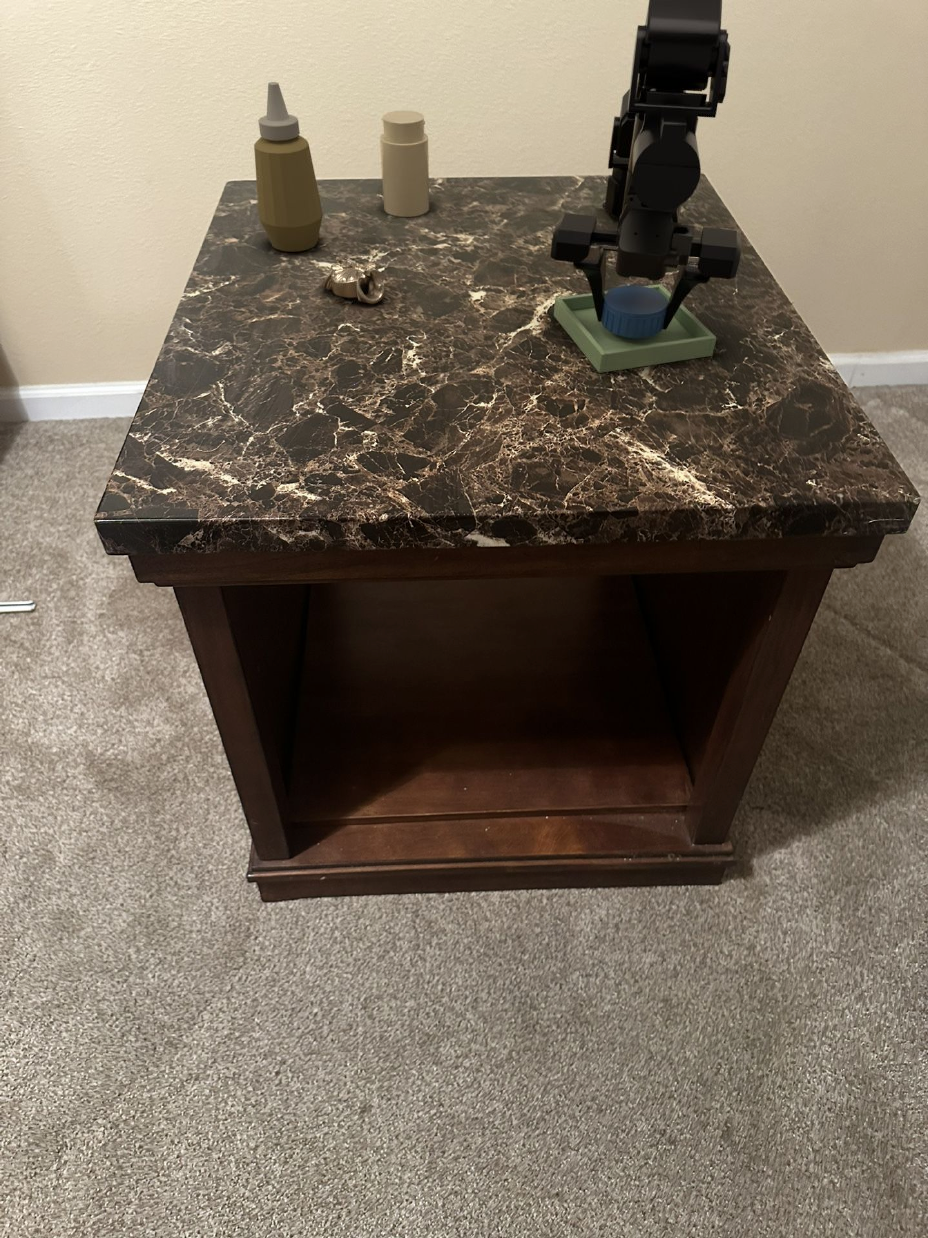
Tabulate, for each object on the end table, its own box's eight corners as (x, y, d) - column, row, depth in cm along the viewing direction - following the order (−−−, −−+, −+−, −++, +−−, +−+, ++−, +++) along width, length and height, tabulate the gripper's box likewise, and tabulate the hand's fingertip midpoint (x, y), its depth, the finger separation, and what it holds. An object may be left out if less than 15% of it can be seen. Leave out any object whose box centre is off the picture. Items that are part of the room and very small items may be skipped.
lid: (597, 334, 89) (600, 310, 87) (604, 305, 93) (607, 281, 91) (661, 341, 88) (666, 317, 86) (665, 312, 92) (670, 288, 90)
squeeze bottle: (336, 236, 109) (321, 77, 96) (308, 260, 104) (288, 96, 91) (281, 227, 111) (259, 70, 98) (251, 251, 105) (223, 88, 92)
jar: (422, 197, 119) (420, 107, 110) (434, 214, 115) (433, 121, 106) (379, 201, 117) (373, 110, 109) (389, 218, 113) (384, 125, 105)
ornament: (402, 291, 98) (400, 260, 96) (364, 313, 94) (361, 282, 92) (351, 273, 101) (348, 243, 99) (312, 294, 97) (308, 263, 95)
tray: (657, 301, 97) (661, 283, 96) (712, 355, 89) (717, 337, 87) (553, 315, 95) (555, 297, 93) (599, 373, 86) (601, 354, 84)
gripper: (548, 191, 75) (536, 349, 87) (758, 211, 73) (716, 372, 84) (566, 151, 83) (552, 301, 94) (757, 168, 80) (719, 321, 91)
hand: (632, 324), depth 91 cm, fingers closed on lid, 7 cm apart
